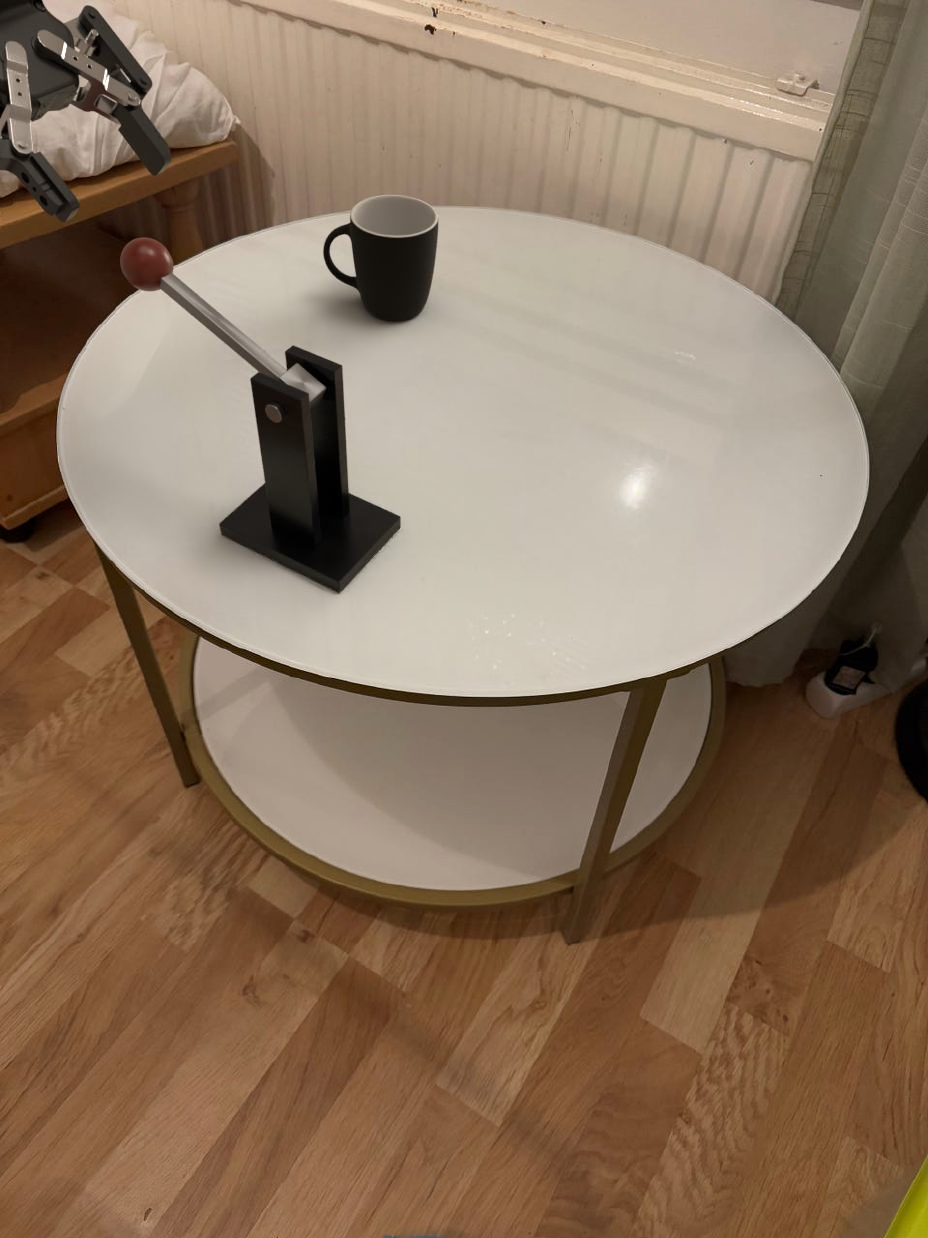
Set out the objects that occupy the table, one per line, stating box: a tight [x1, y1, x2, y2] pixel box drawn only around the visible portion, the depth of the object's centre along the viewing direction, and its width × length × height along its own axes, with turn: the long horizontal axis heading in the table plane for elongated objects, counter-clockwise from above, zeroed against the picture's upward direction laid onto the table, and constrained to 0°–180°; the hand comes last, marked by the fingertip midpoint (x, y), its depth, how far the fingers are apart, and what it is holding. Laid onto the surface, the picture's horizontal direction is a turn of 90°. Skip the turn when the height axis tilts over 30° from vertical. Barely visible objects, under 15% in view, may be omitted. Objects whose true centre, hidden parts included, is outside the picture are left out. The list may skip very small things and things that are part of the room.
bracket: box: [218, 345, 402, 594], centre depth 70 cm, size 12×9×16 cm
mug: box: [322, 194, 439, 322], centre depth 95 cm, size 12×9×10 cm
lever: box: [119, 237, 326, 413], centre depth 65 cm, size 17×4×4 cm, turn 60°
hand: (120, 190), depth 61 cm, fingers open, 8 cm apart
